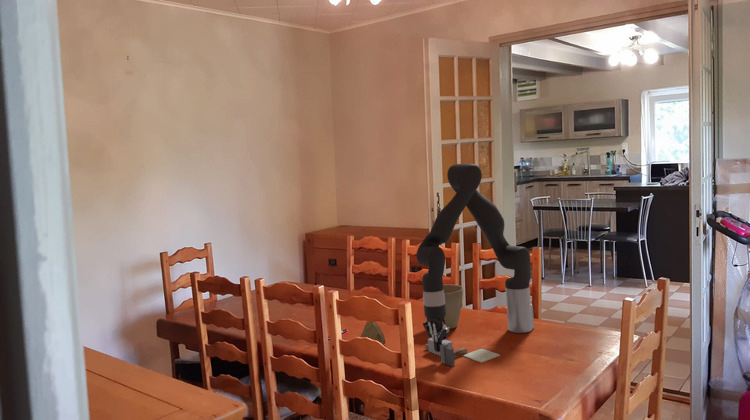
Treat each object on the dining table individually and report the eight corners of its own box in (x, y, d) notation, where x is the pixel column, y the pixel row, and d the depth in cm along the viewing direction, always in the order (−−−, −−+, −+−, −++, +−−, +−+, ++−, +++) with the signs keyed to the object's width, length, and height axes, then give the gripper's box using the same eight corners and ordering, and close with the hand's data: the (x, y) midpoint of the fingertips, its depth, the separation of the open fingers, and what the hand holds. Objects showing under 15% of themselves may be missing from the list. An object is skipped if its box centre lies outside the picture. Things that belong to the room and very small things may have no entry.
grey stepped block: (445, 361, 197) (444, 343, 196) (455, 365, 192) (454, 346, 192) (441, 363, 195) (439, 344, 195) (451, 367, 191) (449, 348, 190)
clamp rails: (440, 344, 214) (440, 339, 214) (467, 353, 202) (466, 348, 202) (425, 349, 210) (424, 344, 210) (451, 359, 198) (450, 354, 198)
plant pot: (440, 319, 245) (437, 283, 244) (472, 323, 237) (469, 285, 235) (423, 329, 233) (419, 292, 232) (455, 334, 225) (452, 294, 223)
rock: (393, 339, 218) (383, 329, 227) (380, 325, 215) (370, 315, 224) (373, 359, 217) (363, 348, 226) (359, 346, 213) (350, 335, 222)
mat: (481, 349, 205) (481, 348, 205) (500, 355, 197) (499, 354, 197) (463, 356, 200) (463, 355, 200) (481, 362, 192) (481, 361, 192)
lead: (437, 349, 210) (436, 336, 209) (453, 355, 202) (452, 341, 202) (428, 352, 208) (427, 339, 207) (444, 358, 200) (443, 344, 200)
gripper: (455, 303, 193) (459, 352, 194) (430, 297, 204) (434, 343, 205) (438, 308, 188) (442, 358, 190) (414, 301, 200) (418, 349, 201)
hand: (438, 350), depth 198 cm, fingers closed
